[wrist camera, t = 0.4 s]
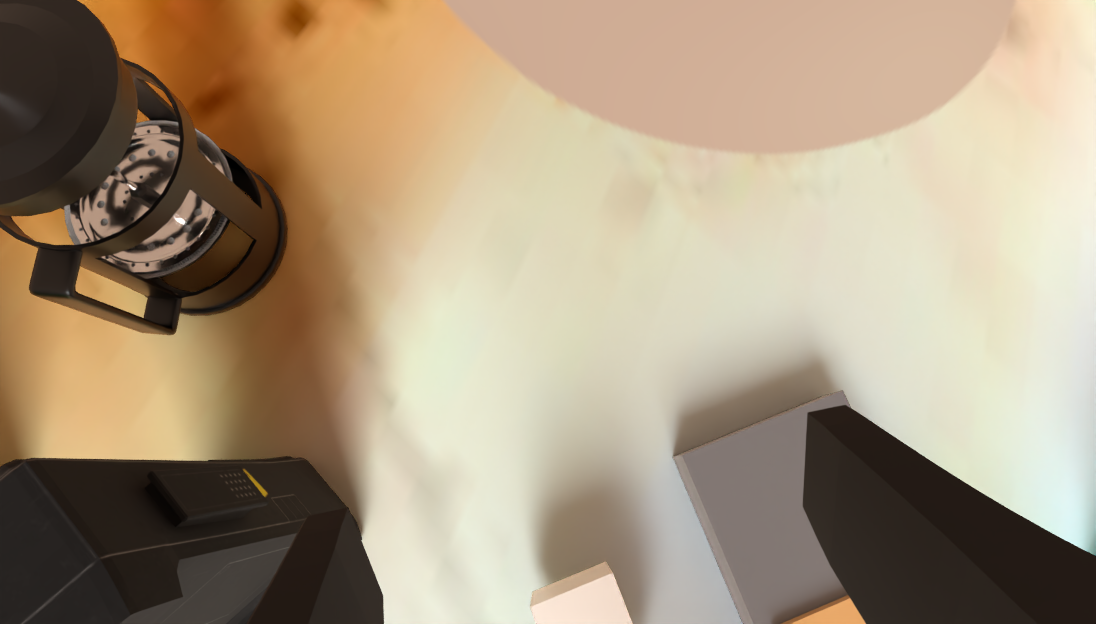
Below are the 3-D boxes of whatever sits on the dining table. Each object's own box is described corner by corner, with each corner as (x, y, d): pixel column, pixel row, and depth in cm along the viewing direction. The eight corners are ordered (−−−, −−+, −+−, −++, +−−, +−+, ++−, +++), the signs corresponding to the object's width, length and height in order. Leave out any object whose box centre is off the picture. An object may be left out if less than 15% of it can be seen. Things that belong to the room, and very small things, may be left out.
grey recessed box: (998, 770, 37) (1037, 795, 34) (835, 844, 36) (860, 876, 33) (821, 396, 41) (842, 390, 38) (672, 456, 40) (682, 455, 37)
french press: (147, 146, 44) (-271, -192, 22) (301, 158, 44) (39, -171, 22) (105, 338, 42) (-418, 178, 19) (268, 352, 41) (-68, 206, 19)
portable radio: (313, 436, 40) (-50, 376, 16) (383, 520, 39) (110, 594, 15) (198, 536, 39) (-381, 637, 15) (267, 625, 38) (-233, 889, 14)
